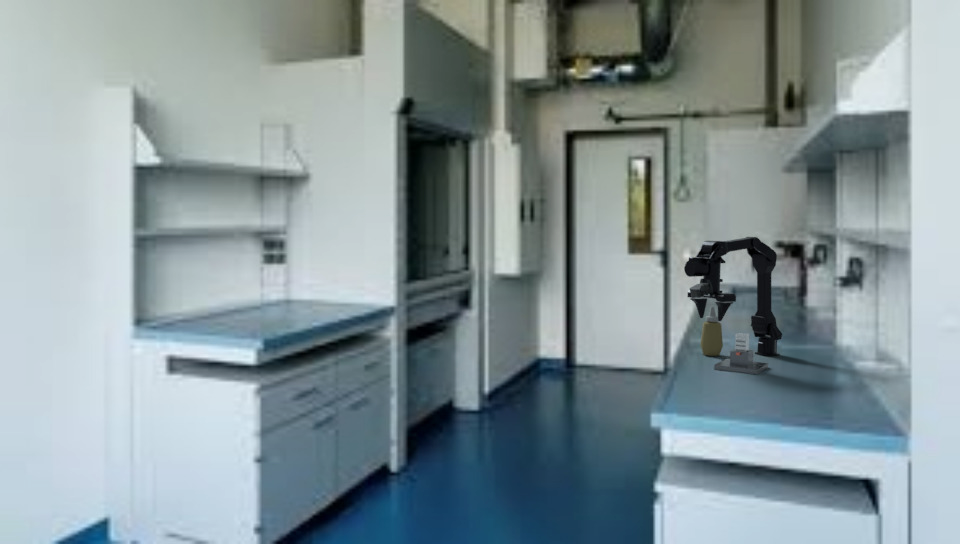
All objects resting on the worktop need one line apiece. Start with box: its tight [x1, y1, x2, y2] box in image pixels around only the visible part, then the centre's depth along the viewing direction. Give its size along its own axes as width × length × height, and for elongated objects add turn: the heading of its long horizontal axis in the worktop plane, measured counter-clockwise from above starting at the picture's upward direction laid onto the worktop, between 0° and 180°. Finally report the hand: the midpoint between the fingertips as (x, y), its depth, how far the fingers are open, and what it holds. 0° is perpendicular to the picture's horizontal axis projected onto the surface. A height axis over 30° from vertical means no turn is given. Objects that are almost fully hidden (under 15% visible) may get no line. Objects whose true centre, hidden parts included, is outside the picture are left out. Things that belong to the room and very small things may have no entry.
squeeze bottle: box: [699, 306, 724, 357], centre depth 280 cm, size 8×8×18 cm
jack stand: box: [713, 348, 769, 375], centre depth 255 cm, size 14×14×6 cm
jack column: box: [734, 332, 750, 353], centre depth 254 cm, size 4×4×10 cm
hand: (710, 319), depth 269 cm, fingers open, 9 cm apart
